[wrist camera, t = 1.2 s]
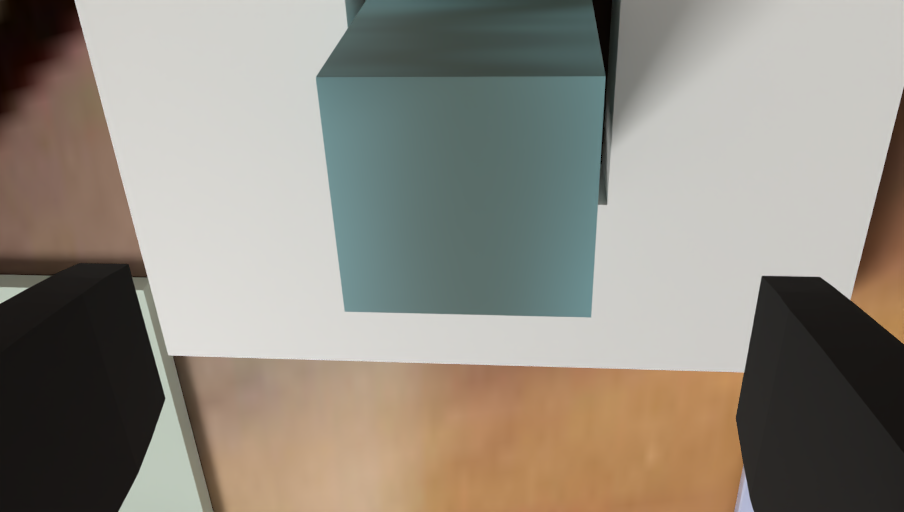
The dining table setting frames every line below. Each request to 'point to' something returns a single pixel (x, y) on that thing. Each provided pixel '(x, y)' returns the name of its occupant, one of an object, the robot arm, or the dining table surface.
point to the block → (465, 156)
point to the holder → (620, 185)
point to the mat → (172, 446)
